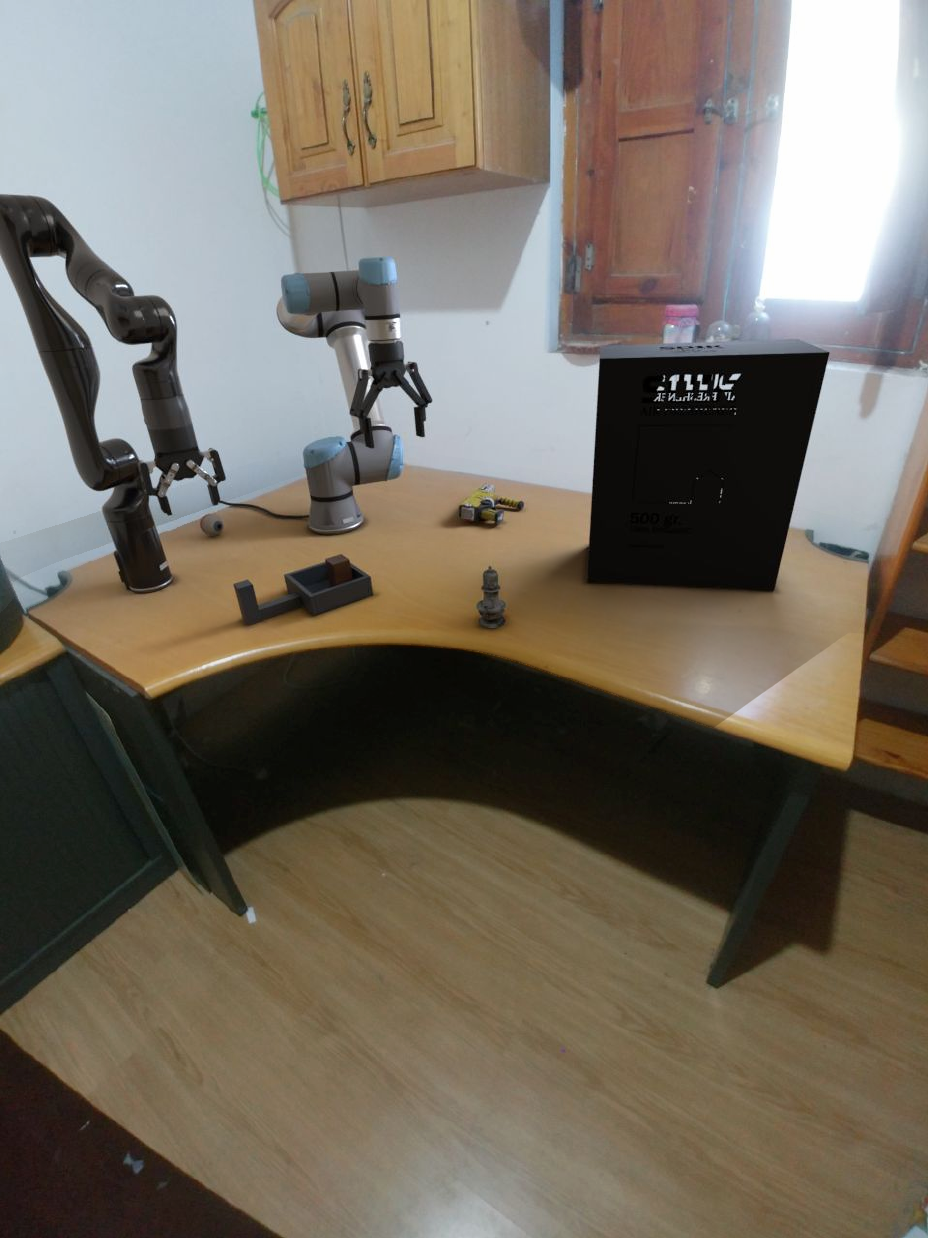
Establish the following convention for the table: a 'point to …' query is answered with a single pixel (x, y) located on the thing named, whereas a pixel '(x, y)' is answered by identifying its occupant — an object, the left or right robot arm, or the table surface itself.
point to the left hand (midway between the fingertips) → (192, 509)
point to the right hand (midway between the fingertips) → (395, 441)
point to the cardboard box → (699, 461)
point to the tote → (304, 593)
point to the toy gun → (486, 505)
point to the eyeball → (211, 524)
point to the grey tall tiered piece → (491, 601)
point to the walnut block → (338, 570)
